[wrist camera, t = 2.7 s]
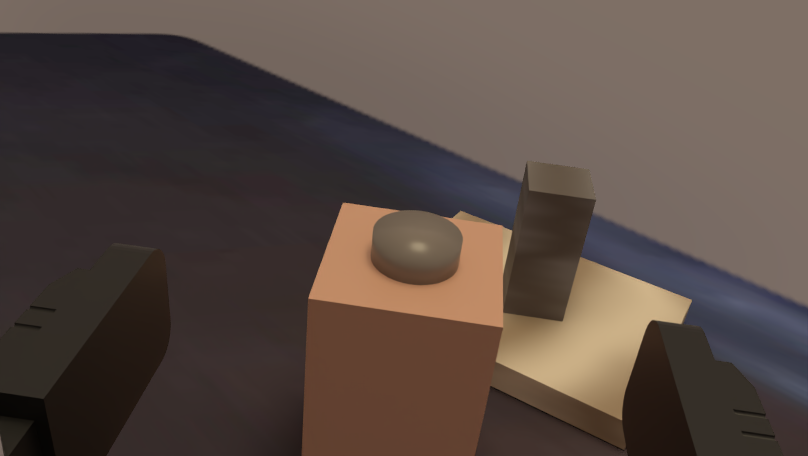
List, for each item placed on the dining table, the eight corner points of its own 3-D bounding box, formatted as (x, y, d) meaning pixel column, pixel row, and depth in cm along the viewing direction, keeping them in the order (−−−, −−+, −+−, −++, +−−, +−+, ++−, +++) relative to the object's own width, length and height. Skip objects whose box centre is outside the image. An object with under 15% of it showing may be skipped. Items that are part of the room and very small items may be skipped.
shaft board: (356, 321, 38) (369, 173, 33) (457, 231, 46) (478, 103, 42) (624, 450, 32) (682, 293, 28) (683, 322, 41) (736, 185, 36)
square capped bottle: (299, 509, 28) (309, 271, 22) (330, 396, 33) (344, 179, 27) (457, 534, 28) (509, 301, 22) (463, 417, 33) (507, 202, 27)
